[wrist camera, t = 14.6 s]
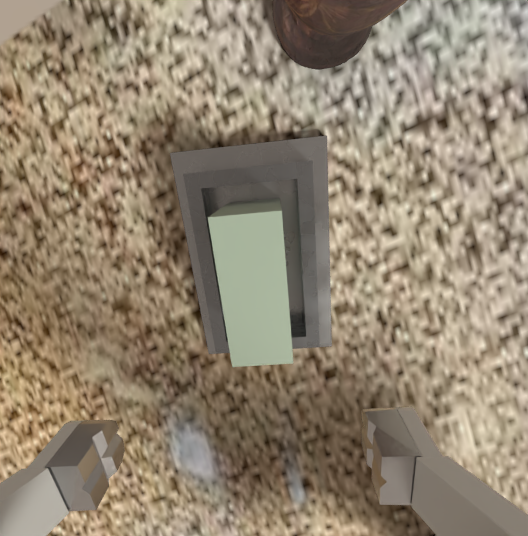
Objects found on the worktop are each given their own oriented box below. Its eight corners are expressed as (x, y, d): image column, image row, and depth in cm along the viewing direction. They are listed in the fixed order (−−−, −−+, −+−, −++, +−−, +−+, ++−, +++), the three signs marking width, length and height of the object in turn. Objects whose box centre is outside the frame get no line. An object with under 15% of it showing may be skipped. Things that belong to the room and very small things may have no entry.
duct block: (279, 198, 24) (281, 210, 17) (288, 310, 28) (293, 363, 20) (228, 203, 24) (207, 217, 17) (243, 314, 28) (232, 367, 20)
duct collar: (330, 341, 30) (336, 361, 26) (210, 349, 30) (203, 369, 27) (325, 136, 23) (333, 131, 20) (173, 153, 24) (158, 150, 21)
